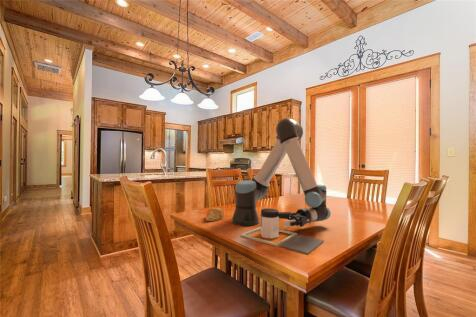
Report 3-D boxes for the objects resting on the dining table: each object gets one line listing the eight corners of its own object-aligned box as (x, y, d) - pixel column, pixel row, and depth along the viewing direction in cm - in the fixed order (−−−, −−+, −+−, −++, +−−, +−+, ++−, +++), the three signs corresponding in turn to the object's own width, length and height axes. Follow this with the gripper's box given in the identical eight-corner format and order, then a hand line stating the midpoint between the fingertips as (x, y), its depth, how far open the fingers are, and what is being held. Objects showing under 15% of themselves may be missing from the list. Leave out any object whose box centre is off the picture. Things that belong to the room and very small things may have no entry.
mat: (279, 246, 94) (279, 245, 94) (298, 235, 108) (298, 234, 108) (308, 254, 87) (308, 253, 87) (324, 241, 101) (324, 240, 101)
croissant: (211, 229, 128) (217, 217, 127) (197, 219, 131) (203, 207, 130) (225, 219, 148) (231, 209, 147) (213, 211, 151) (218, 200, 150)
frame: (240, 236, 106) (240, 234, 106) (263, 227, 122) (263, 225, 122) (277, 246, 94) (277, 244, 94) (297, 234, 109) (297, 233, 109)
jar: (267, 240, 102) (268, 213, 102) (256, 234, 109) (256, 209, 109) (282, 236, 107) (282, 210, 107) (270, 231, 114) (271, 207, 114)
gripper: (326, 229, 108) (292, 236, 98) (289, 217, 130) (258, 222, 119) (326, 213, 108) (293, 218, 98) (289, 204, 130) (259, 208, 119)
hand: (274, 220), depth 108 cm, fingers open, 13 cm apart
